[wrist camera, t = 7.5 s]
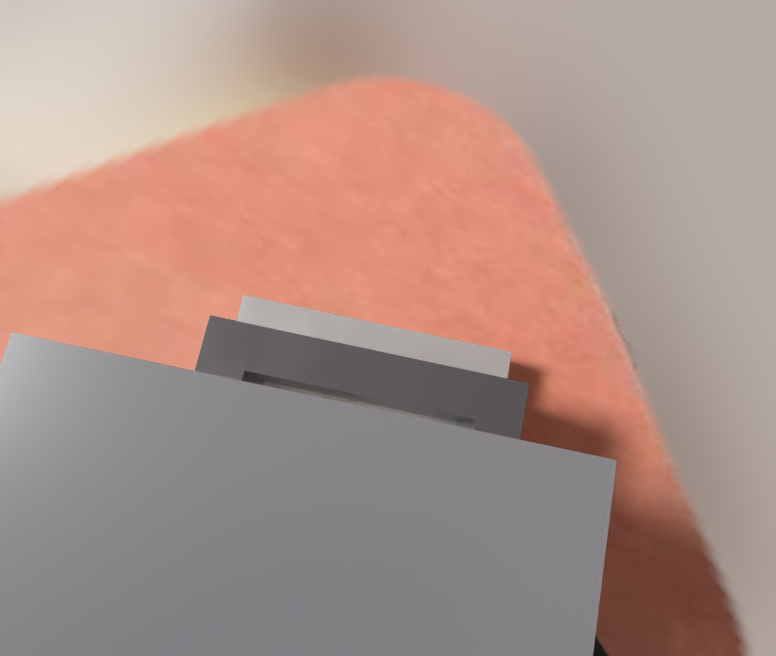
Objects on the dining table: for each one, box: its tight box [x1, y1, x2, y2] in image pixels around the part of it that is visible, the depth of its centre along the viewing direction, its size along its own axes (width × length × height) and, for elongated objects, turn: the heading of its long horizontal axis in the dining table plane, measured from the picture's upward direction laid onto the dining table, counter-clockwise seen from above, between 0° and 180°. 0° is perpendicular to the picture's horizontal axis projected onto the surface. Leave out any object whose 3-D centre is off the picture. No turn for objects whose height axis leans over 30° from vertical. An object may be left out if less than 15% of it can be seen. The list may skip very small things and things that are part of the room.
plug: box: [0, 332, 617, 656], centre depth 10 cm, size 4×4×12 cm
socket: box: [195, 295, 529, 440], centre depth 16 cm, size 11×9×4 cm
